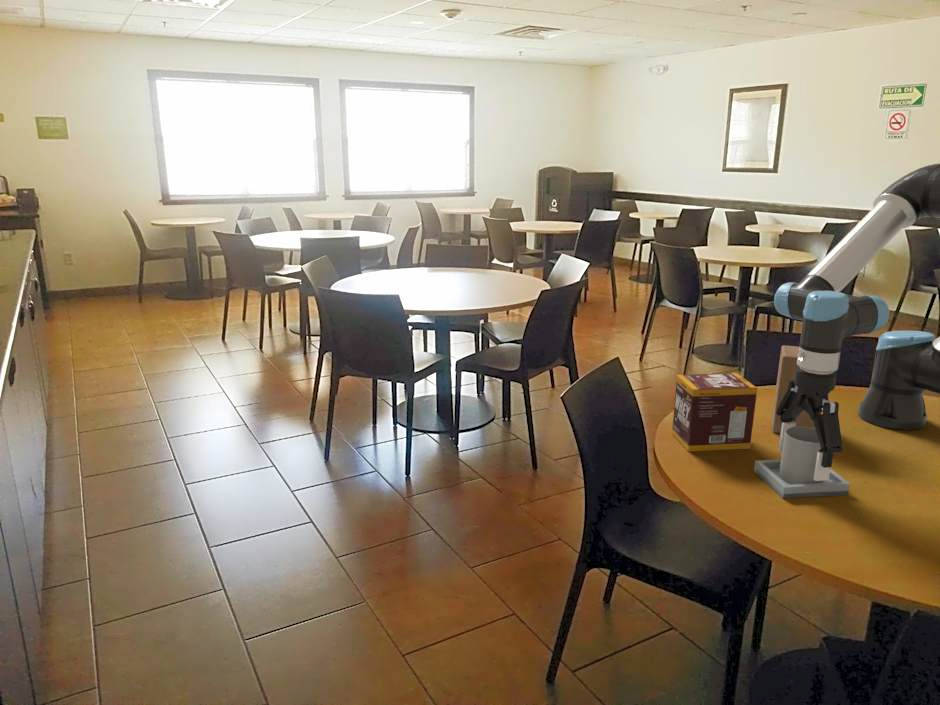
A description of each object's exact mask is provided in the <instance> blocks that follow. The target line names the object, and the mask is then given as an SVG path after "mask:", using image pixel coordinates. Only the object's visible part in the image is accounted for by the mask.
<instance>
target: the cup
mask: <svg viewBox="0 0 940 705" xmlns="http://www.w3.org/2000/svg"><path fill="white" fill-rule="evenodd" d="M826 446H827V445H826ZM820 449H821V447H820V443H819V439H818V435H817V432H816V429H814V428H809V427H802V426H801V427H790V428H787V429H786V431H785V434H784V441H783V448H782V451H781V456H780V457H781V458H780V459H781V463H780V470H779V476H780V478H781V479H782V480H784V481H785V482H787V483H790V484H810V483H822V482H823V481H815V480H814V479H813V478H814V472H815V466H816V459H817V453H818V450H820Z"/></svg>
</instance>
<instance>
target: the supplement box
mask: <svg viewBox="0 0 940 705" xmlns="http://www.w3.org/2000/svg"><path fill="white" fill-rule="evenodd" d="M675 382H676V383H675V394H674V395H675V396H674V409H673V418H672V419H673V420H672V431H671V433H672V435H673V436H674V437H675V439H676V440H677V441H678V442H679V443H680V444H681V446H683V448H684V449H685V450H686V451H687V452H706V451H711V452H712V451H729V450H747V449H748V450H749V449H751V443H752V442H751V441H752V434H753V428H754V427H753V426H754V419H755V410H756V401H757V393H758V387H757V386H755V385H754V384H752V383H751V382H750V381H749V380H747V379H746V378H745V377H743V376H741V375H740V374H739V373H737V372H724V373H721V372H719V373H701V374H700V373H696V374H676V381H675Z"/></svg>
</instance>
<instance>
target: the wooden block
mask: <svg viewBox="0 0 940 705" xmlns="http://www.w3.org/2000/svg"><path fill="white" fill-rule="evenodd" d="M780 348H781V349H780V355H779V363H778V370H777V371H778V372H777V377H776V378H777V379H776V385H775V393H774V399H773V400H774V401H773V407H772V408H773V409H772V413H771V414H772V415H771V422H772V423H771V424H772V425H771V427H772V433H776V434H781V424H782V421H781V420H780V415H777V414H776V411H777V409H778V407H779V405H780V403H781V401H782V399H783V398H784V396H785V394H786V392H787V390H788V386H789V382H790V381H794V378H795V371H796V368H797V367H798V365H797V359H798V356H797V355H798V352H799V346H796V345H795V346H793V345H781V347H780ZM784 410H786V409H784ZM820 414H822V412H821V413H820ZM795 420H796V421H791V422H795V423H796V426H795V427H801V426H802V427H809V428H814V429H816V428H815V424H814V421H813V420H812V419H811V418H810V415H809V414H808V413H807V412H806V411H804V410H803V411H802V412H801V413H800V414H799V415H798V416H797V417H796V419H795Z"/></svg>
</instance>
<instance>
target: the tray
mask: <svg viewBox="0 0 940 705" xmlns="http://www.w3.org/2000/svg"><path fill="white" fill-rule="evenodd" d="M780 463H781V458H780V459H763V460H755V461H754V468H753V472H754V473H755V474H757V476H758V477H760V478H761V479H762V480H763V481H764V482H765V483H766V484H767V485H768V486H769V487H770V488H771V489H772V490H773V491H774V492H775V493H776V494H778V496H779V497H780V498H782V499H795V498H814V497H815V498H816V497H830V496H831V497H833V496H834V497H835V496H847V495H848V496H849V492H850V487H851V482H848V481H847V480H846V479H845V478H843V476H841V475H840V474H838V473H837V472H836V471H834V470H833V469H831V468H830V473H829V479H828V480H823V482H822V483H810V484H790V483H787V482H785V481H784V480H782V479H781V478H780V476H779V470H780Z"/></svg>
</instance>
